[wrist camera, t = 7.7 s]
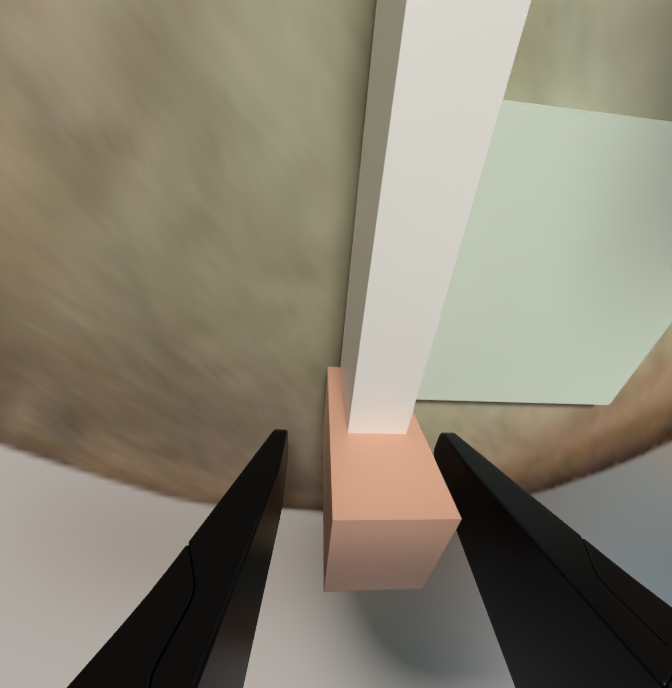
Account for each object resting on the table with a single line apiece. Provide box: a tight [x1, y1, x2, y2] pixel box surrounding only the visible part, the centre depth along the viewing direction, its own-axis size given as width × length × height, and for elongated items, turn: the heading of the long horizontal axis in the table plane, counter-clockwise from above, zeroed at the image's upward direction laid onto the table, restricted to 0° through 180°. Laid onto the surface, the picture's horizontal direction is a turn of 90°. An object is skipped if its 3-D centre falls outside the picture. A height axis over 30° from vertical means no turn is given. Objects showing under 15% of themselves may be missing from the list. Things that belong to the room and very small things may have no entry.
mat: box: [416, 100, 672, 405], centre depth 8 cm, size 9×9×1 cm
